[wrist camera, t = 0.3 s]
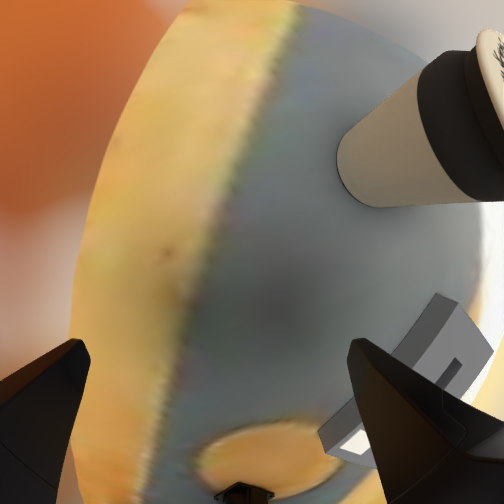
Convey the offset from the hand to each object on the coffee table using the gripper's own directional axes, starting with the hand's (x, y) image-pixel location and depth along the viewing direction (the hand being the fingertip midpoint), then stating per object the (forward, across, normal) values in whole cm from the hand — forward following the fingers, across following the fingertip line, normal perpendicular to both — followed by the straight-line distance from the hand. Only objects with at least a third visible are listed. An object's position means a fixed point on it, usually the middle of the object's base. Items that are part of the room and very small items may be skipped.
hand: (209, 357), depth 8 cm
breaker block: (+11, -20, +18) cm, 29 cm away
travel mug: (+18, -13, -5) cm, 22 cm away
